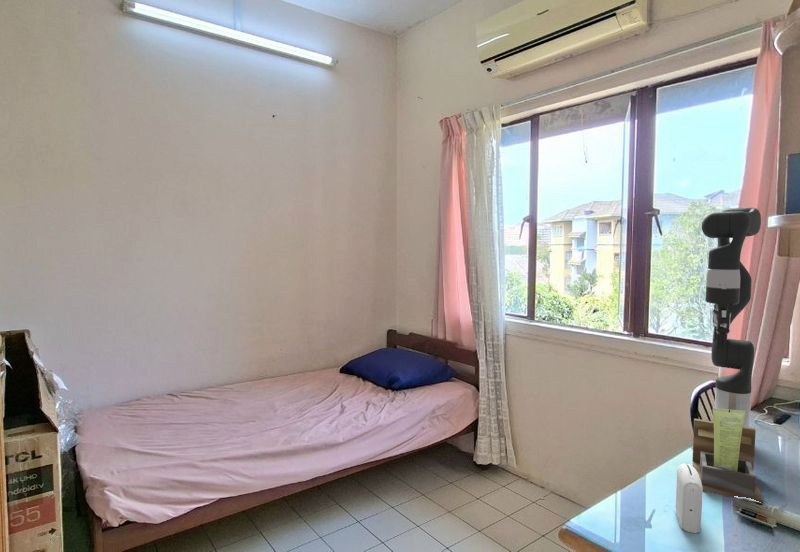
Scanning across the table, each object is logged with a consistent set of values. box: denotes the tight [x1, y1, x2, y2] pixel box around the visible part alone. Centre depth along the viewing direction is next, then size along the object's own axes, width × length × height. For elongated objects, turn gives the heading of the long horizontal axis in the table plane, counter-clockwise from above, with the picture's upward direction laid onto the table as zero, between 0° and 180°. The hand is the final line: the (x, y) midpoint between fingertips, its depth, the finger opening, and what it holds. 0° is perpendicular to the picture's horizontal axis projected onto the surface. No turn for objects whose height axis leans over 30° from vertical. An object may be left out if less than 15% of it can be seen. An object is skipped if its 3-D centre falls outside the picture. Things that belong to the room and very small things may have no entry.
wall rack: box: [692, 418, 764, 504], centre depth 122 cm, size 17×14×13 cm
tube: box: [711, 407, 745, 472], centre depth 120 cm, size 6×5×20 cm
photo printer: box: [675, 463, 703, 534], centre depth 105 cm, size 10×4×12 cm, turn 156°
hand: (720, 344), depth 125 cm, fingers open, 8 cm apart
